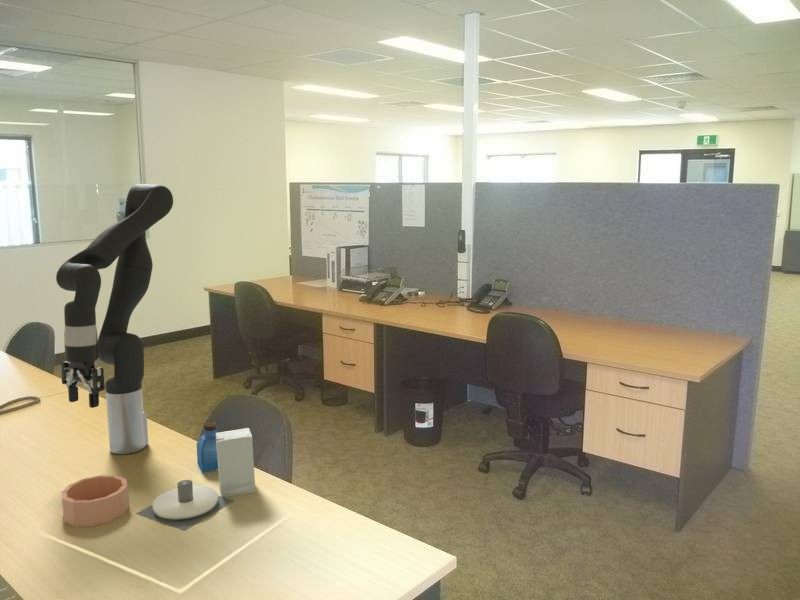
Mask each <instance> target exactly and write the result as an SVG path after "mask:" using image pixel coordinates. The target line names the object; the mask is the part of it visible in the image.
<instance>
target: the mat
mask: <svg viewBox="0 0 800 600" xmlns="http://www.w3.org/2000/svg"><path fill="white" fill-rule="evenodd" d="M233 502H235V500H234V499H231V498H228V497H221V495H218V502H217V504H216V506H215V507H214V508H212V509H211V510H210V511H208V512H206V513H204V514H202V515H199V516H196V517H192V518H186V519H166V518H162V517H159V516H157V515H156V514H155V513H154V512H153V504H150V505H148V506H147V507H144V508H143V509H141V510H139V511H137V512H135V514H136V515H138V516H142V517H144V518H147V519H149V520H153V521H155V522H159V523H162V524H163V525H166V526H167V525H168V526H170V527H172V528H175V529H178V530H181V531H184V532H185V531H186V530H188V529H190V528H192V527H193V526H195V525H197V524H199V523H200V522H201V521H204V520H205V519H207V518H208V517H210V516H212V515H213V514H215V513H218V512H219V511H221V510H222V509H223V508H225V507H227V506H228V505H231V503H232V504H233Z"/></svg>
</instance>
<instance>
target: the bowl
mask: <svg viewBox="0 0 800 600" xmlns="http://www.w3.org/2000/svg"><path fill="white" fill-rule="evenodd" d="M60 495H61V507H62V515H63V522H64V523H65V524H68V525H69V526H73V527H94V526H99V525H103V524H107V523H110V522H112V521H113V520H115V519H116V520H117V519H118V518H119V517H122V516H123V515H124V514H125V513H126V512H127V511H128V510H129V508H130V503H129V502H130V498H129V485H128V482H127V479H126V478H125V477H121V476H118V475H115V474H114V475H111V474H110V475H109V474H108V475H107V474H106V475H101V474H100V475H96V476H91V477H85V478H83V479H82V478H81V479H80V480H77V481H75V482H73V483H70V484H68V486H66V487H65V488H64V489H63V490H62V491H61V494H60Z"/></svg>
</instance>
